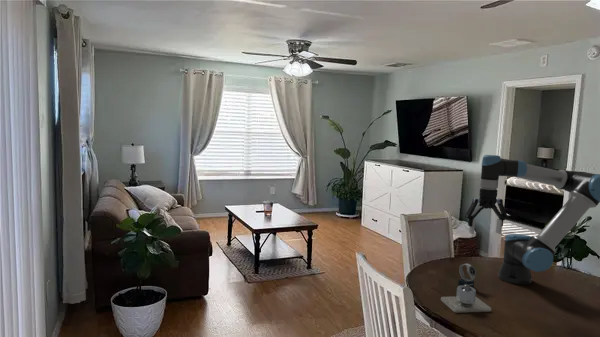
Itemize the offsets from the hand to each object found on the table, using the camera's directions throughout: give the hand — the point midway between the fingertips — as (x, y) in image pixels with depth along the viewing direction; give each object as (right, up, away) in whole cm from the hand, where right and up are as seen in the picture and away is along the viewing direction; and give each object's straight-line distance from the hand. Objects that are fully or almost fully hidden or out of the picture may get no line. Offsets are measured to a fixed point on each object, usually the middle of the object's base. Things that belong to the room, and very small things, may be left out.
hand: (484, 233), depth 194 cm
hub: (-16, -26, -18) cm, 35 cm away
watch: (-7, -26, +4) cm, 28 cm away
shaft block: (-16, -28, -17) cm, 37 cm away
